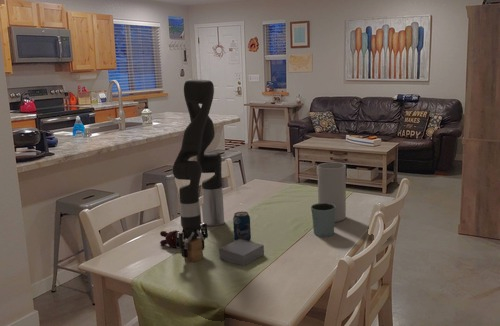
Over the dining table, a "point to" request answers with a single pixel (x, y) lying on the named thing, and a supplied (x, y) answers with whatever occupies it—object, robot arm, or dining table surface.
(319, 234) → the blue gray cup
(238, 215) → the soda can
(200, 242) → the walnut block
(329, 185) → the cylinder vase
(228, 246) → the slate base
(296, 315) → the dining table surface
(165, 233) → the dark brown animal figure
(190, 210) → the robot arm
